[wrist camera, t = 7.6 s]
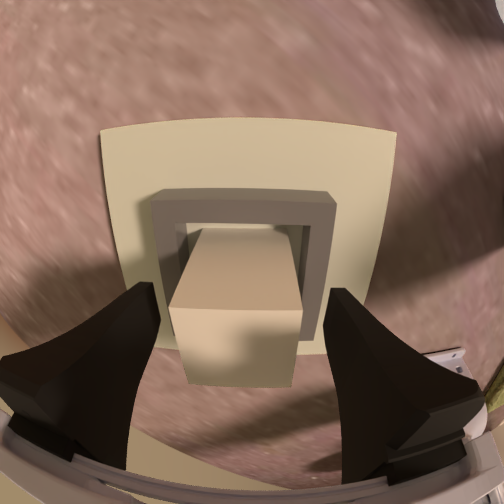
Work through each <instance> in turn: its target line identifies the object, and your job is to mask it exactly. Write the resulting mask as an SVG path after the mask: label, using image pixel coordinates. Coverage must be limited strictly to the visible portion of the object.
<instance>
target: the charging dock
mask: <svg viewBox="0 0 504 504" xmlns="http://www.w3.org/2000/svg"><path fill="white" fill-rule="evenodd" d="M396 134H397V133H396V132H392V131H387V130H381V129H375V128H369V127H363V126H356V125H349V124H341V123H333V122H324V121H313V120H300V119H284V118H253V117H231V118H200V119H184V120H172V121H161V122H152V123H143V124H136V125H129V126H122V127H116V128H110V129H104V130H100V135H101V148H102V159H103V168H104V176H105V184H106V191H107V198H108V205H109V211H110V217H111V222H112V228H113V233H114V238H115V243H116V247H117V252H118V256H119V261H120V265H121V269H122V273H123V277H124V281H125V285H126V289H127V290H128V289H130V288H131V287H132V286H134V285H135V284H137V283H138V282H140V281H142V282H153V285H154V290H155V294H156V299H157V303H158V308H159V312H160V316H161V323H160V327H159V332H158V335H157V339H156V342H155V345H154V347H158V348H167V349H176V350H179V348H178V344H177V341H176V337H175V333H174V329H173V325H172V321H171V316H170V312H169V308H168V307H169V305H170V302H171V300H172V297H173V295H174V293H175V290H176V288H177V286H178V283H179V281H180V279H181V276H182V274H183V272H184V269H185V267H186V265H187V262H188V260H189V258H190V256H191V253H192V251H193V249H194V247H195V245H196V242H197V240H198V238H199V236H200V234H201V231H202V229H203V228H287V232H288V237H289V242H290V246H291V251H292V256H293V261H294V266H295V271H296V276H297V281H298V286H299V292H300V297H301V302H302V308H303V314H302V321H301V328H300V335H299V342H298V348H297V355H305V354H327V351H326V347H325V341H324V333H323V321H324V317H325V312H326V308H327V303H328V298H329V293H330V288H346V289H347V290H348V291H349V292H350V293H351V294H352V295H353V296H354V297H355V298H356V299H357V300H358V301H359V302H360V303H361V304H362V305H364V302H365V298H366V295H367V291H368V288H369V284H370V280H371V277H372V273H373V269H374V265H375V261H376V257H377V252H378V248H379V244H380V239H381V234H382V230H383V225H384V219H385V214H386V209H387V203H388V197H389V191H390V184H391V178H392V170H393V163H394V154H395V145H396Z"/></svg>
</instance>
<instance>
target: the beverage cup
mask: <svg viewBox="0 0 504 504" xmlns="http://www.w3.org/2000/svg"><path fill="white" fill-rule="evenodd" d="M495 1H496V7H497V10H498V12H499V15H500V17H501V19H502V21H503V23H504V0H495Z"/></svg>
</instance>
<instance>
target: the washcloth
mask: <svg viewBox="0 0 504 504" xmlns="http://www.w3.org/2000/svg"><path fill="white" fill-rule="evenodd" d="M484 397H485V403H486V407H487V413H489V412H491V411H493V410H494V409H495V408H498V407H499V406H502V405H504V365H503V366H502V368H501V370H500V372H499V374H498V375H497V377H496V378H495V381H494V382H493V384H492V385H491V387H490V389H489V390H488V391H487V393H486V395H485V396H484Z"/></svg>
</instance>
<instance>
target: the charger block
mask: <svg viewBox="0 0 504 504" xmlns="http://www.w3.org/2000/svg"><path fill="white" fill-rule="evenodd" d="M168 308H169V312H170V316H171V321H172V325H173V329H174V333H175V337H176V341H177V344H178V348H179V352H180V355H181V359H182V363H183V366H184V370H185V373H186V376H187V380H188V383H189V384H195V385H208V386H224V387H251V388H282V387H291V384H292V379H293V373H294V367H295V361H296V355H297V348H298V342H299V335H300V328H301V321H302V314H303V308H302V302H301V297H300V292H299V286H298V281H297V276H296V271H295V266H294V261H293V256H292V251H291V246H290V242H289V237H288V232H287V228H203V229H202V231H201V234H200V236H199V238H198V240H197V242H196V245H195V247H194V249H193V251H192V253H191V256H190V258H189V260H188V262H187V265H186V267H185V269H184V272H183V274H182V276H181V279H180V281H179V283H178V286H177V288H176V290H175V293H174V295H173V297H172V300H171V302H170V305H169V307H168Z"/></svg>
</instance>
